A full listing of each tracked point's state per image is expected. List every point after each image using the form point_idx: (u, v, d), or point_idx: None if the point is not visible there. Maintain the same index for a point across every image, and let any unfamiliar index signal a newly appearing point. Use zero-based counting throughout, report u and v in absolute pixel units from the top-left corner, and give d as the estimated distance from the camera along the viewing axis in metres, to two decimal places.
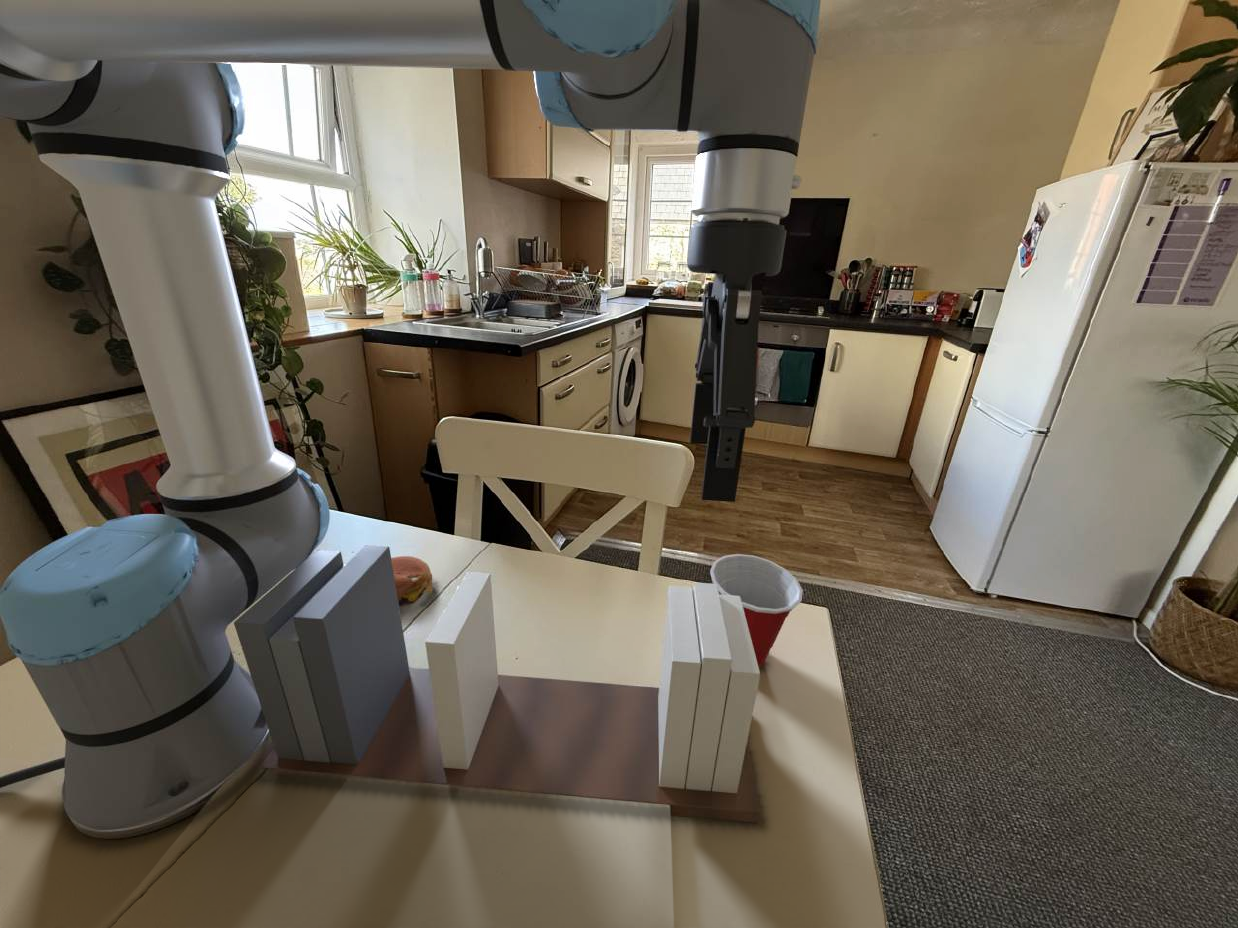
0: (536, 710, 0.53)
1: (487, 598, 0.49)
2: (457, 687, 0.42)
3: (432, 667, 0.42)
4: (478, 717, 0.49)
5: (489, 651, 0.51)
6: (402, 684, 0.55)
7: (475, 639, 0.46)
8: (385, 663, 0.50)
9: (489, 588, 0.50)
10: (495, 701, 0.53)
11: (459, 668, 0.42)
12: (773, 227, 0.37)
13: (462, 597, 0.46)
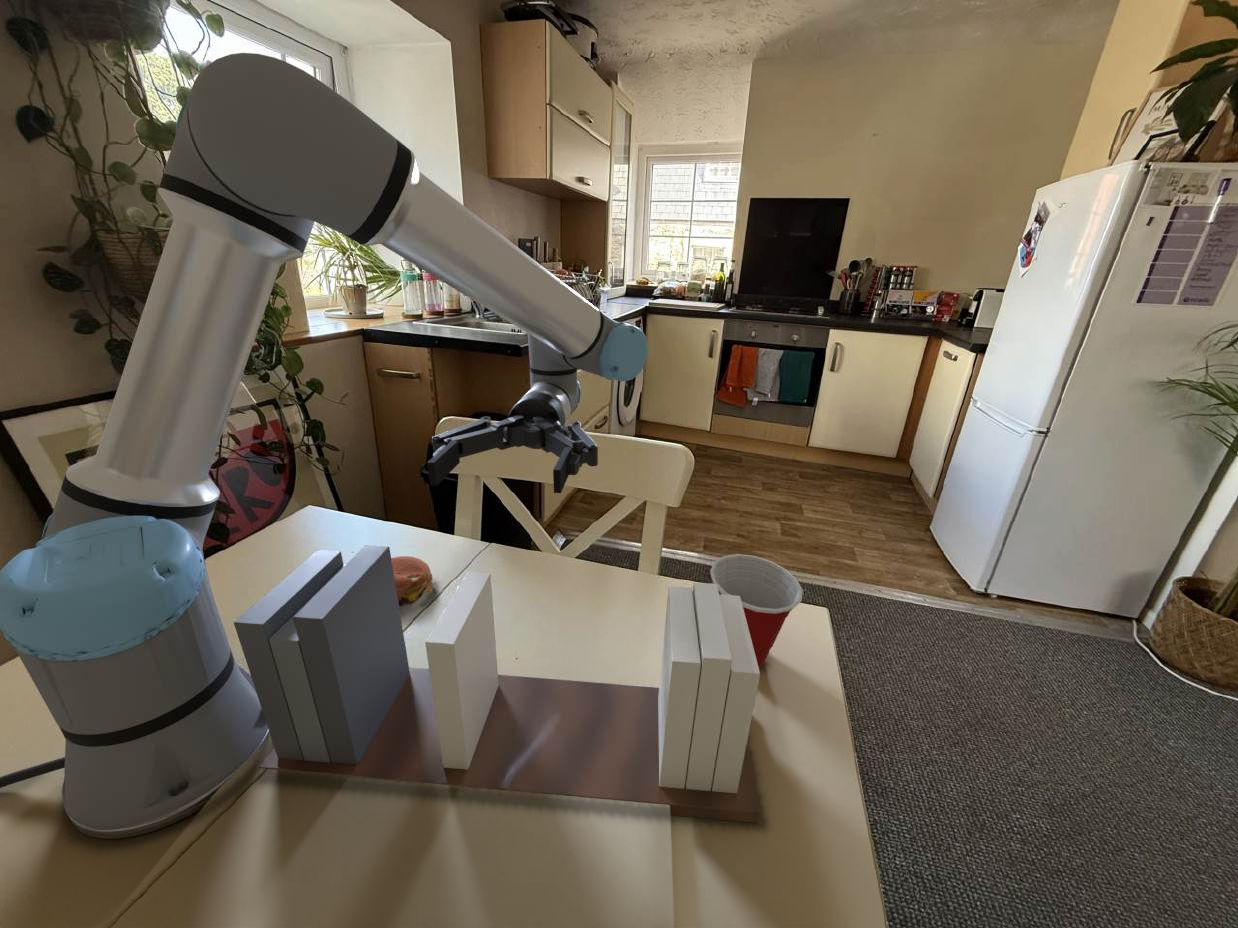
0: (536, 710, 0.53)
1: (487, 598, 0.49)
2: (457, 687, 0.42)
3: (432, 667, 0.42)
4: (478, 717, 0.49)
5: (489, 651, 0.51)
6: (402, 684, 0.55)
7: (475, 639, 0.46)
8: (385, 663, 0.50)
9: (489, 588, 0.50)
10: (495, 701, 0.53)
11: (459, 668, 0.42)
12: None
13: (462, 597, 0.46)
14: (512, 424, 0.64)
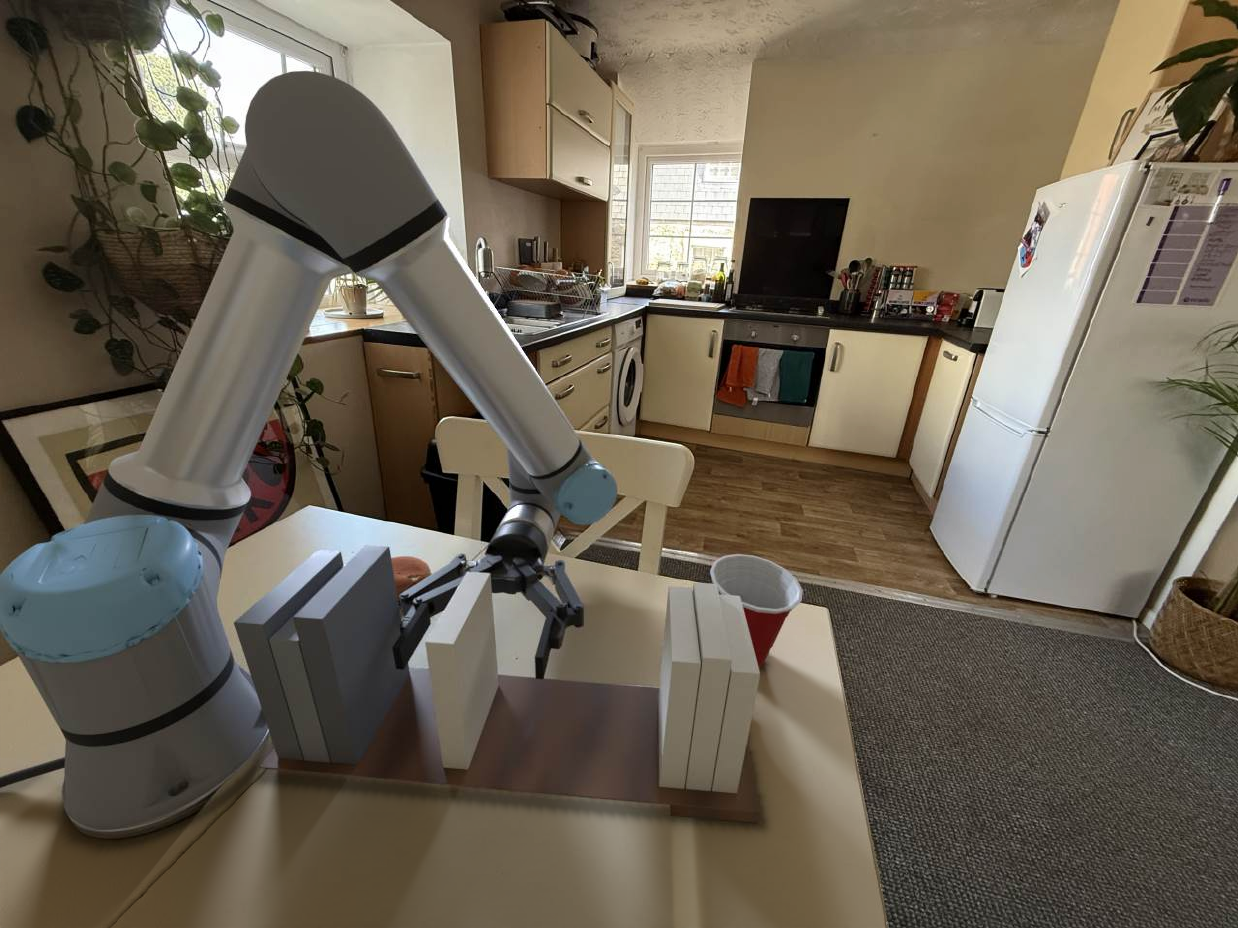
0: (536, 710, 0.53)
1: (487, 598, 0.49)
2: (457, 687, 0.42)
3: (432, 667, 0.42)
4: (478, 717, 0.49)
5: (489, 651, 0.51)
6: (402, 684, 0.55)
7: (475, 639, 0.46)
8: (385, 663, 0.50)
9: (489, 588, 0.50)
10: (495, 701, 0.53)
11: (459, 668, 0.42)
12: None
13: (462, 597, 0.46)
14: (489, 569, 0.59)
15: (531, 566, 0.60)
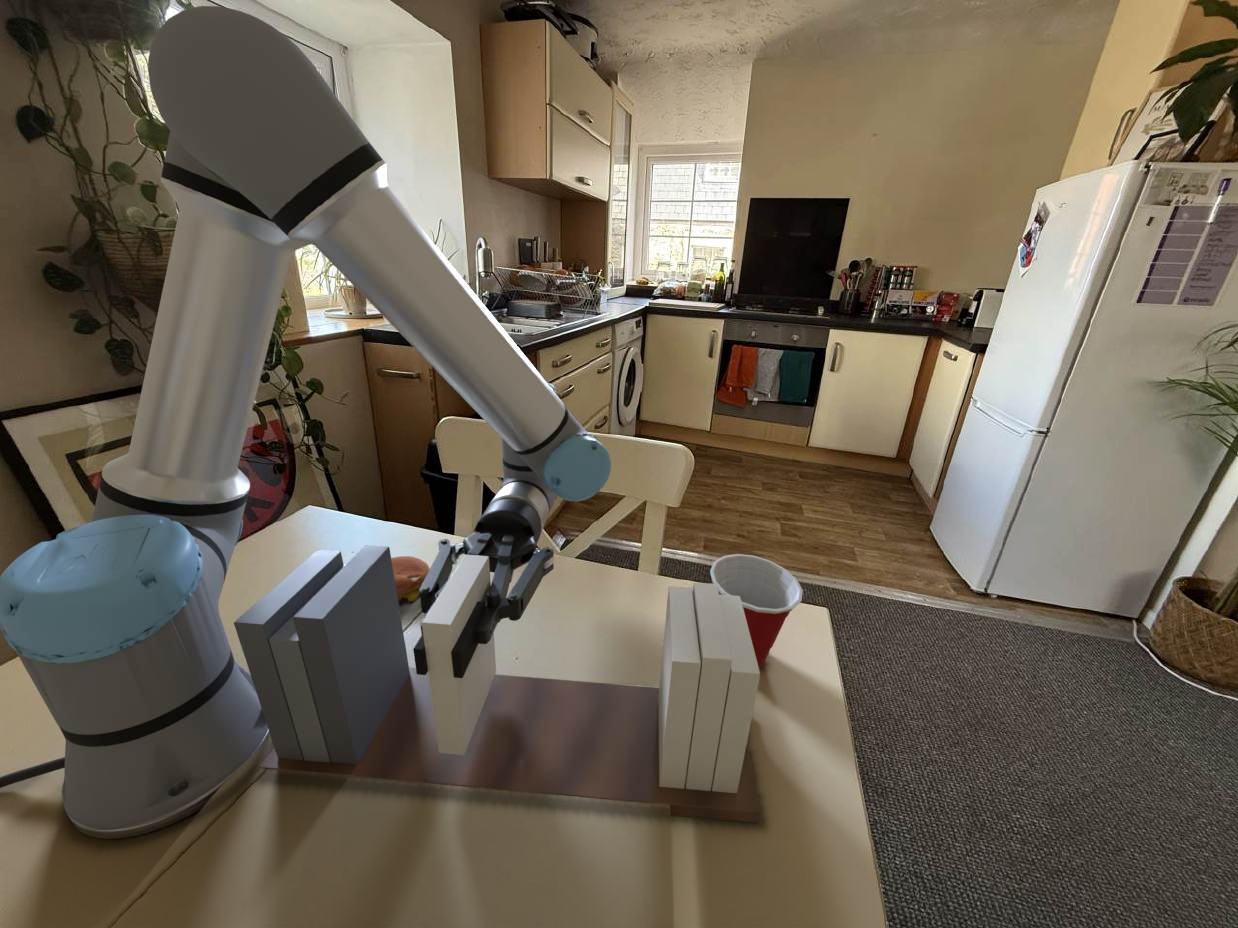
0: (536, 710, 0.53)
1: (485, 581, 0.48)
2: None
3: (428, 649, 0.41)
4: (475, 702, 0.48)
5: None
6: (402, 684, 0.55)
7: None
8: (385, 663, 0.50)
9: (487, 571, 0.49)
10: (495, 701, 0.53)
11: None
12: None
13: (459, 579, 0.45)
14: (485, 547, 0.55)
15: (520, 543, 0.56)
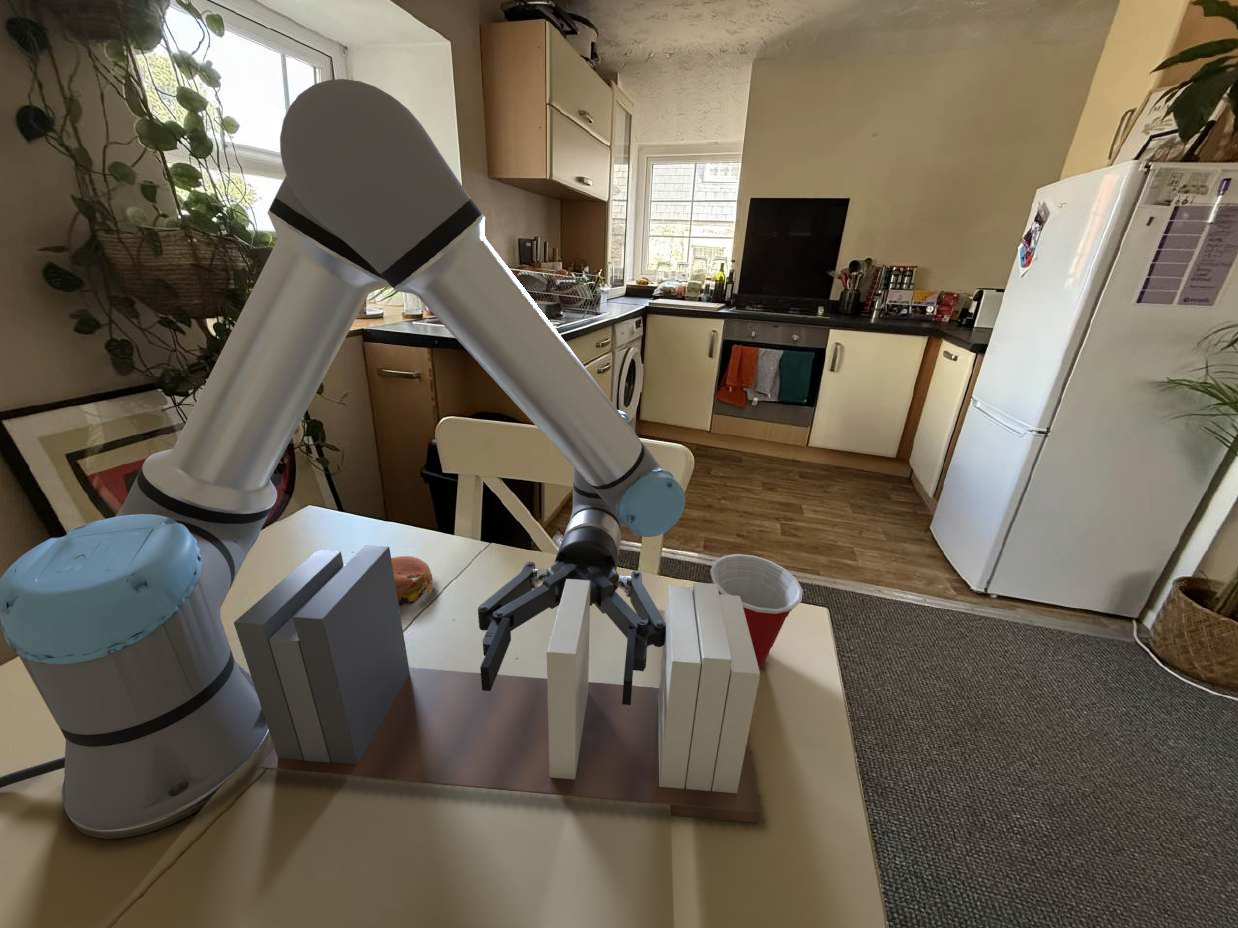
0: (536, 710, 0.53)
1: (588, 606, 0.49)
2: (574, 697, 0.42)
3: (551, 677, 0.41)
4: (580, 726, 0.48)
5: (586, 659, 0.50)
6: (402, 684, 0.55)
7: (583, 648, 0.46)
8: (385, 663, 0.50)
9: (589, 595, 0.49)
10: (495, 701, 0.53)
11: (576, 677, 0.42)
12: None
13: (569, 605, 0.46)
14: (565, 578, 0.55)
15: (606, 575, 0.57)
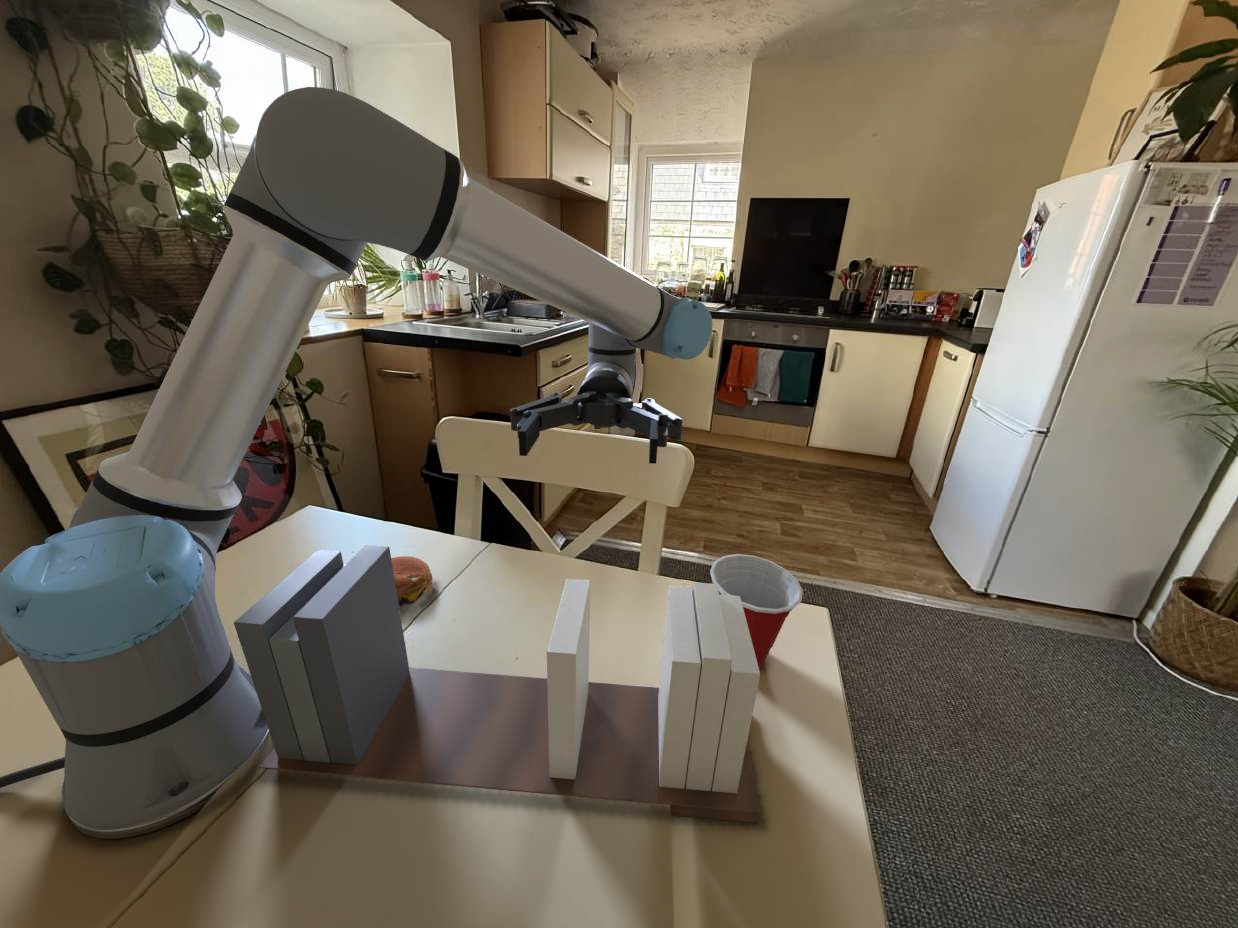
0: (536, 710, 0.53)
1: (588, 606, 0.49)
2: (574, 697, 0.42)
3: (551, 677, 0.41)
4: (580, 726, 0.48)
5: (586, 659, 0.50)
6: (402, 684, 0.55)
7: (583, 648, 0.46)
8: (385, 663, 0.50)
9: (589, 595, 0.49)
10: (495, 701, 0.53)
11: (576, 677, 0.42)
12: None
13: (569, 605, 0.46)
14: (586, 399, 0.63)
15: None
